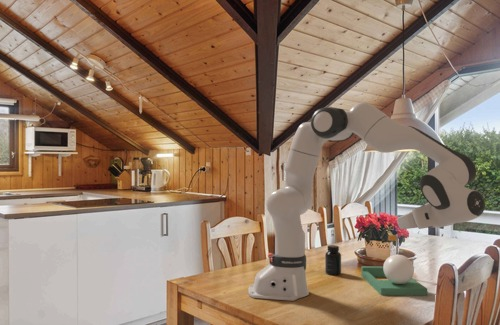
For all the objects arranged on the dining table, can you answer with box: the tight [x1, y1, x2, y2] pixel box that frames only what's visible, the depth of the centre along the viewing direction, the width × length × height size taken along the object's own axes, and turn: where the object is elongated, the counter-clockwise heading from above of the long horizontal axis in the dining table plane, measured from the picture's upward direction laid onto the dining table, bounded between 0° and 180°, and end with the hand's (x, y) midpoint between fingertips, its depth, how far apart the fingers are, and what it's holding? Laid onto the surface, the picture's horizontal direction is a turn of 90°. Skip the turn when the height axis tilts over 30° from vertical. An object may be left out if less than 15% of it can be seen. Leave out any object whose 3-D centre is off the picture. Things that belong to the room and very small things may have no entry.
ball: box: [383, 254, 415, 284], centre depth 156 cm, size 11×11×11 cm
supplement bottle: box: [324, 244, 342, 276], centre depth 178 cm, size 7×7×12 cm
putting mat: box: [360, 234, 428, 296], centre depth 163 cm, size 17×26×18 cm, turn 1°
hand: (412, 220), depth 142 cm, fingers open, 8 cm apart
